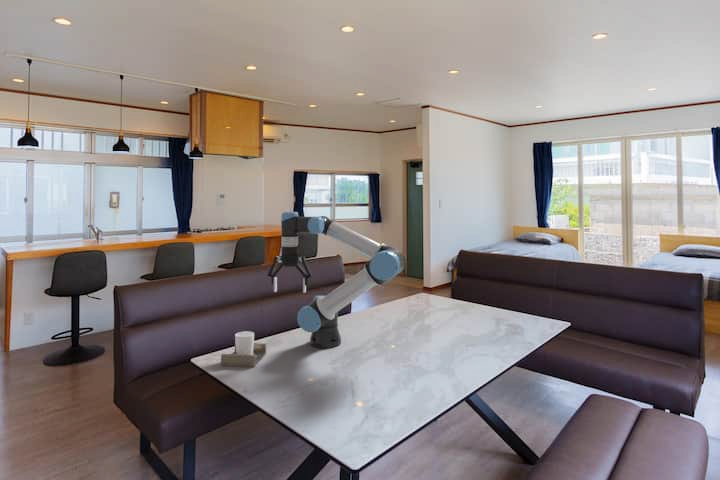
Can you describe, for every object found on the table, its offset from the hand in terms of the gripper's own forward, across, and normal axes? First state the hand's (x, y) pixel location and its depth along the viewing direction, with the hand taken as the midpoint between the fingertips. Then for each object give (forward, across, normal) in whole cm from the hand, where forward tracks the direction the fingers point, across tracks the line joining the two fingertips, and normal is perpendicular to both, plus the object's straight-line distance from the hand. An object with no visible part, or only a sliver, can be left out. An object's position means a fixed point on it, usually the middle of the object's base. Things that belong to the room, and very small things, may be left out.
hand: (289, 292), depth 187 cm
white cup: (+26, -16, -15) cm, 34 cm away
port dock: (+27, -16, -15) cm, 35 cm away
